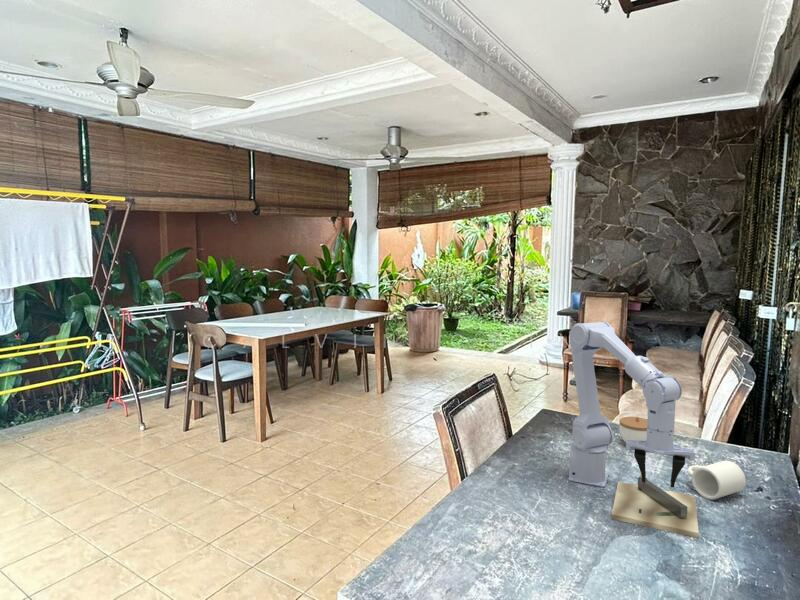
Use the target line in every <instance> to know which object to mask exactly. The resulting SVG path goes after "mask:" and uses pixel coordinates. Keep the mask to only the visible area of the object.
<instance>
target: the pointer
mask: <svg viewBox="0 0 800 600" xmlns="http://www.w3.org/2000/svg"><path fill="white" fill-rule="evenodd" d="M637 485H638V489H639V490H642V491H644V492H645V493H646V494H648V495H649V496H651V497H652V498H653V499H655V500H656V501H658V502H659V503H660V504H662V505H663V506H665V507H666V508H667V509H669V510H670V511H672V512H673V513H674V514H676V515H677V516H679V517H680V518H687V506H685V505H684V504H682V503H681V502H679V501H678V500H676V499H675V498H674V497H672V496H671V495H669V494H668V493H666V492H665V491H666V490H665V491H663V490H664V489H662V488H660V487H658V485H656V484H654V483H653V482H652V481H650V480H648V477H646V479H645V482H642V476H641V475H640V476H638V477H637Z"/></svg>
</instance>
